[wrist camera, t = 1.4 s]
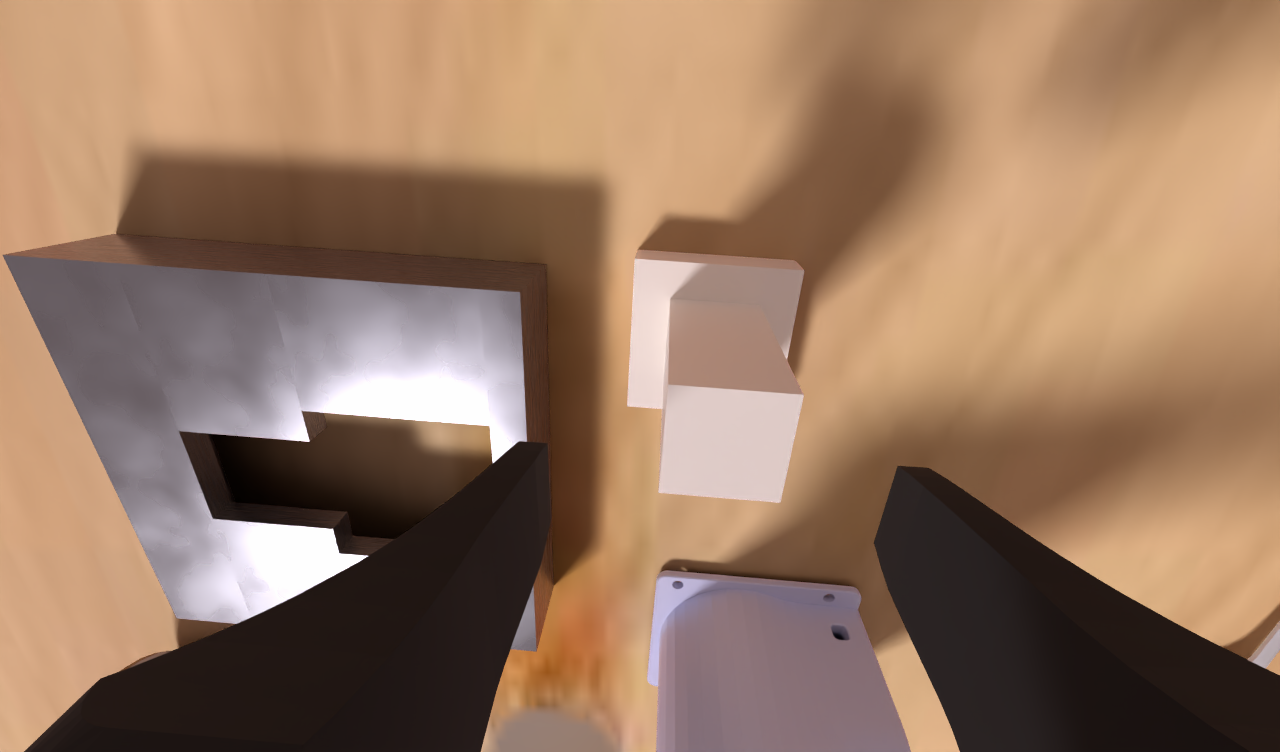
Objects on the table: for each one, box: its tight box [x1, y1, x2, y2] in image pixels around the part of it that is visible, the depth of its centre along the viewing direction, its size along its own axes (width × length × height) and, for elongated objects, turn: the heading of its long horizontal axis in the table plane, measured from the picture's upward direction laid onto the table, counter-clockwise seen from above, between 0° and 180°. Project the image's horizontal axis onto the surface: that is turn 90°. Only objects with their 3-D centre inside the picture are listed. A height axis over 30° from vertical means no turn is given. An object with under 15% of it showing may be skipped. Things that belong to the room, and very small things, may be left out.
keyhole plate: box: [3, 234, 554, 651], centre depth 21 cm, size 16×16×4 cm
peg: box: [627, 249, 805, 503], centre depth 16 cm, size 6×6×8 cm
